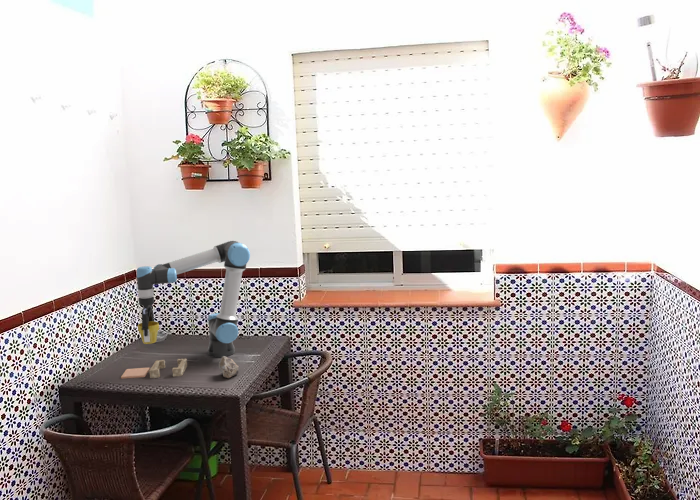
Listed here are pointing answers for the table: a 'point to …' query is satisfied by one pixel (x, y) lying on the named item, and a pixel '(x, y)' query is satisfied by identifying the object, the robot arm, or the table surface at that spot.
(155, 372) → the flower pot holder
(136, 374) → the tile
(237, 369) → the rock
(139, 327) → the plant pot
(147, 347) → the table surface
